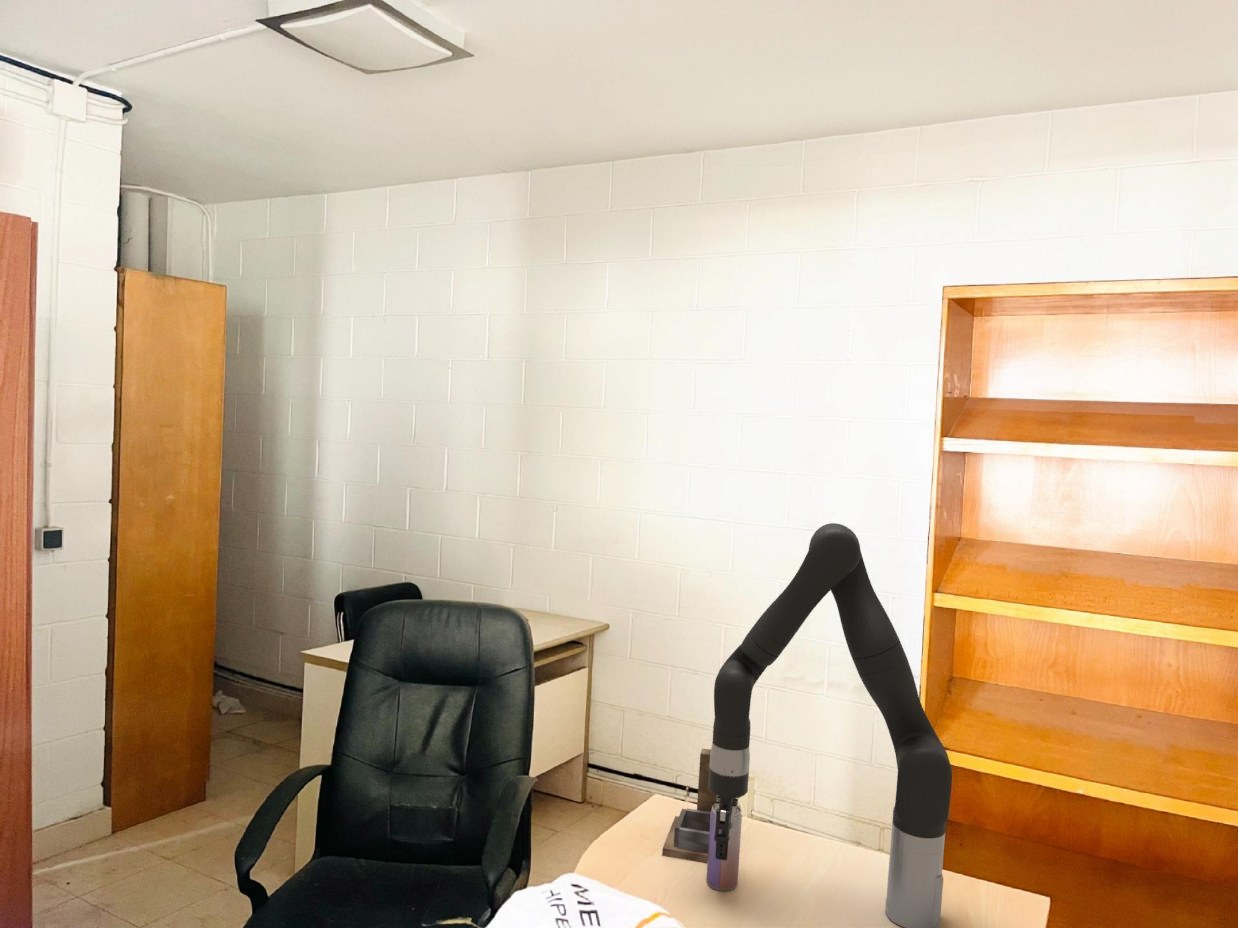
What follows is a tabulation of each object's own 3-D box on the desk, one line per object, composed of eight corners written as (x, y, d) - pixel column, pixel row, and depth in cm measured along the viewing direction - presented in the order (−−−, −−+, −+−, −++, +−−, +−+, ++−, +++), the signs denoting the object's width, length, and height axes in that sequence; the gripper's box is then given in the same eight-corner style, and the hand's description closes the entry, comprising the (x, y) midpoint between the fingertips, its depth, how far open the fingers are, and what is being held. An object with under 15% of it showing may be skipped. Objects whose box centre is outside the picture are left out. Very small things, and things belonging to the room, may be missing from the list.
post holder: (738, 832, 198) (744, 754, 196) (731, 866, 183) (736, 781, 182) (674, 822, 201) (679, 744, 199) (662, 855, 186) (667, 771, 185)
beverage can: (703, 888, 174) (708, 812, 173) (709, 873, 180) (714, 799, 179) (734, 894, 173) (739, 818, 172) (739, 879, 178) (744, 804, 177)
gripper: (745, 784, 167) (739, 869, 168) (752, 755, 181) (747, 834, 182) (704, 778, 169) (699, 862, 170) (714, 749, 182) (709, 828, 184)
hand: (724, 848), depth 176 cm, fingers open, 8 cm apart
